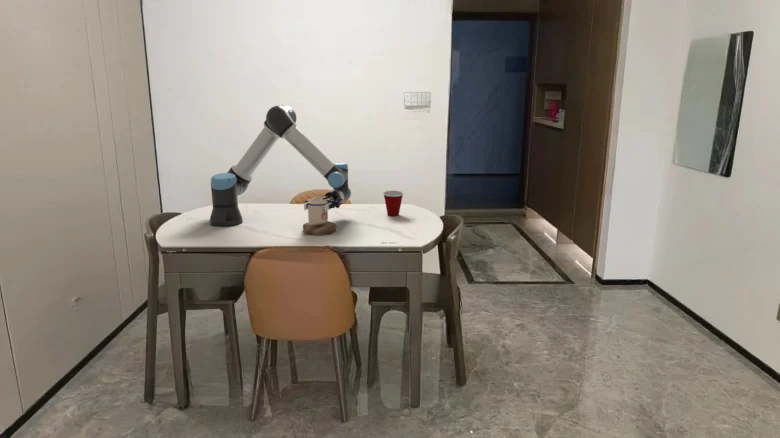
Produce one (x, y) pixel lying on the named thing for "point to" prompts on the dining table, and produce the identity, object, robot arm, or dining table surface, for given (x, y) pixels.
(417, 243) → the dining table surface
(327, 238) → the dining table surface
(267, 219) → the dining table surface
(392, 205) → the plastic cup
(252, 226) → the dining table surface
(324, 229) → the brown round disc
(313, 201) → the teacup with lid
